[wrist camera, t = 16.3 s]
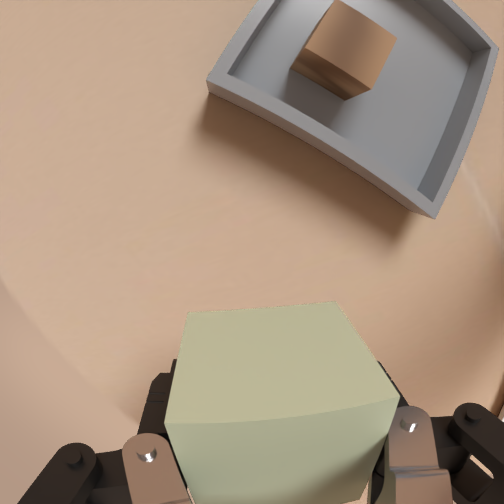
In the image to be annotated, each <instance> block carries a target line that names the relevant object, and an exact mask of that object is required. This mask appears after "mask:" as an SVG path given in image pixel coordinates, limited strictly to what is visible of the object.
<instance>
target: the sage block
mask: <svg viewBox="0 0 504 504" xmlns="http://www.w3.org/2000/svg"><path fill="white" fill-rule="evenodd" d="M399 399H400V395H399V393H398V392H397V390H396V389H395V387H394V386H393V384H392V383H391V381H390V380H389V378H388V377H387V375H386V374H385V372H384V371H383V369H382V368H381V366H380V365H379V363H378V362H377V360H376V359H375V357H374V356H373V354H372V353H371V351H370V350H369V348H368V347H367V346H366V344H365V343H364V341H363V340H362V338H361V337H360V335H359V334H358V332H357V331H356V330H355V328H354V327H353V325H352V324H351V322H350V321H349V320H348V318H347V317H346V315H345V314H344V312H343V311H342V310H341V308H340V307H339V305H338V304H337V302H336V301H332V302H322V303H312V304H302V305H291V306H279V307H266V308H253V309H238V310H222V311H204V312H188V315H187V319H186V323H185V327H184V332H183V336H182V340H181V345H180V349H179V354H178V358H177V363H176V368H175V372H174V377H173V382H172V387H171V391H170V396H169V401H168V406H167V411H166V416H165V422H164V424H165V427H166V430H167V433H168V436H169V439H170V441H171V444H172V447H173V450H174V452H175V455H176V458H177V460H178V463H179V466H180V468H181V471H182V473H183V476H184V478H185V481H186V483H187V486H188V488H189V490H190V493H191V495H192V497H193V500H194V502H195V504H343V503H347V502H351V501H355V500H359V499H360V498H361V496H362V493H363V491H364V489H365V487H366V485H367V483H368V481H369V478H370V476H371V474H372V472H373V469H374V467H375V464H376V462H377V460H378V457H379V455H380V452H381V450H382V447H383V445H384V442H385V439H386V437H387V434H388V431H389V429H390V426H391V423H392V420H393V417H394V414H395V411H396V408H397V405H398V402H399Z"/></svg>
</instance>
